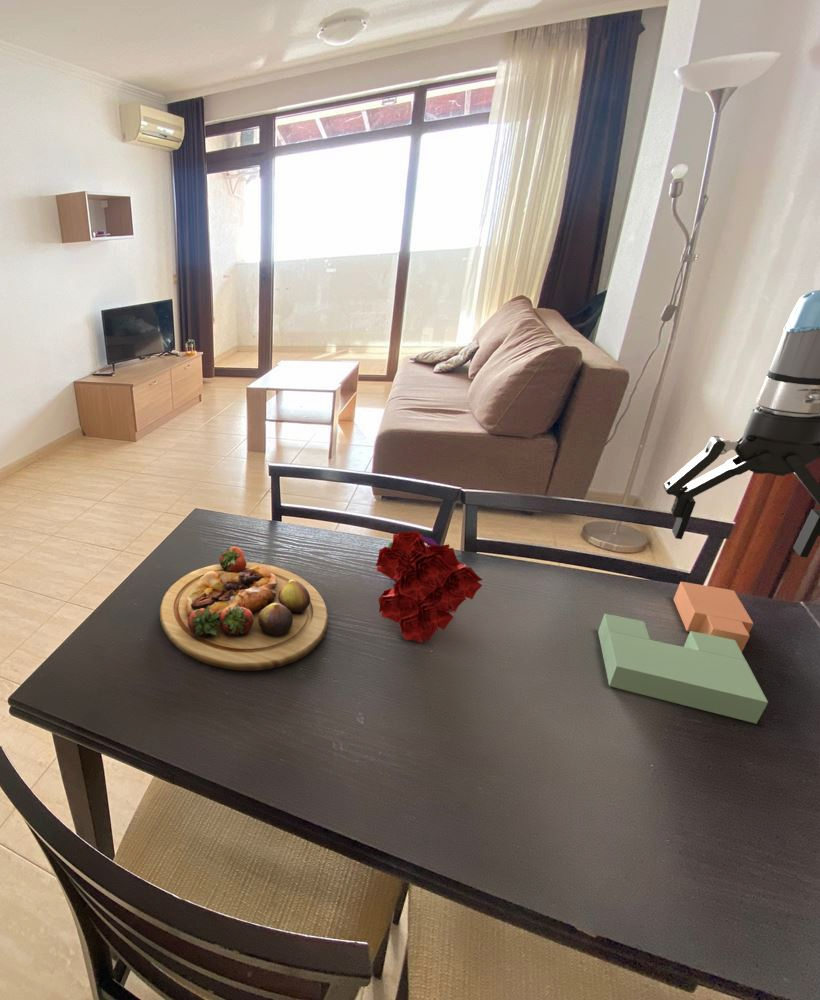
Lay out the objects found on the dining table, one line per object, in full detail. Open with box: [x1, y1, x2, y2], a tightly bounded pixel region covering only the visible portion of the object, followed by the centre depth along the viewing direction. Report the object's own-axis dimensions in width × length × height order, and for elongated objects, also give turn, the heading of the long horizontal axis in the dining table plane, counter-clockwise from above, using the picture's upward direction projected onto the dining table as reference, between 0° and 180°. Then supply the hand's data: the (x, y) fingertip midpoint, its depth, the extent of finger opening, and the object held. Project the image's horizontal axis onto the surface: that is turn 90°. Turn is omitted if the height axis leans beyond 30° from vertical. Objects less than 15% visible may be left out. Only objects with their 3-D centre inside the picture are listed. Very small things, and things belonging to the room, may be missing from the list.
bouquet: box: [375, 530, 483, 643], centre depth 104 cm, size 20×16×30 cm
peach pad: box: [673, 581, 755, 653], centre depth 91 cm, size 7×14×4 cm, turn 149°
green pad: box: [597, 613, 769, 725], centre depth 82 cm, size 16×14×4 cm
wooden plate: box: [159, 546, 329, 671], centre depth 103 cm, size 32×32×8 cm
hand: (735, 543), depth 83 cm, fingers open, 13 cm apart
